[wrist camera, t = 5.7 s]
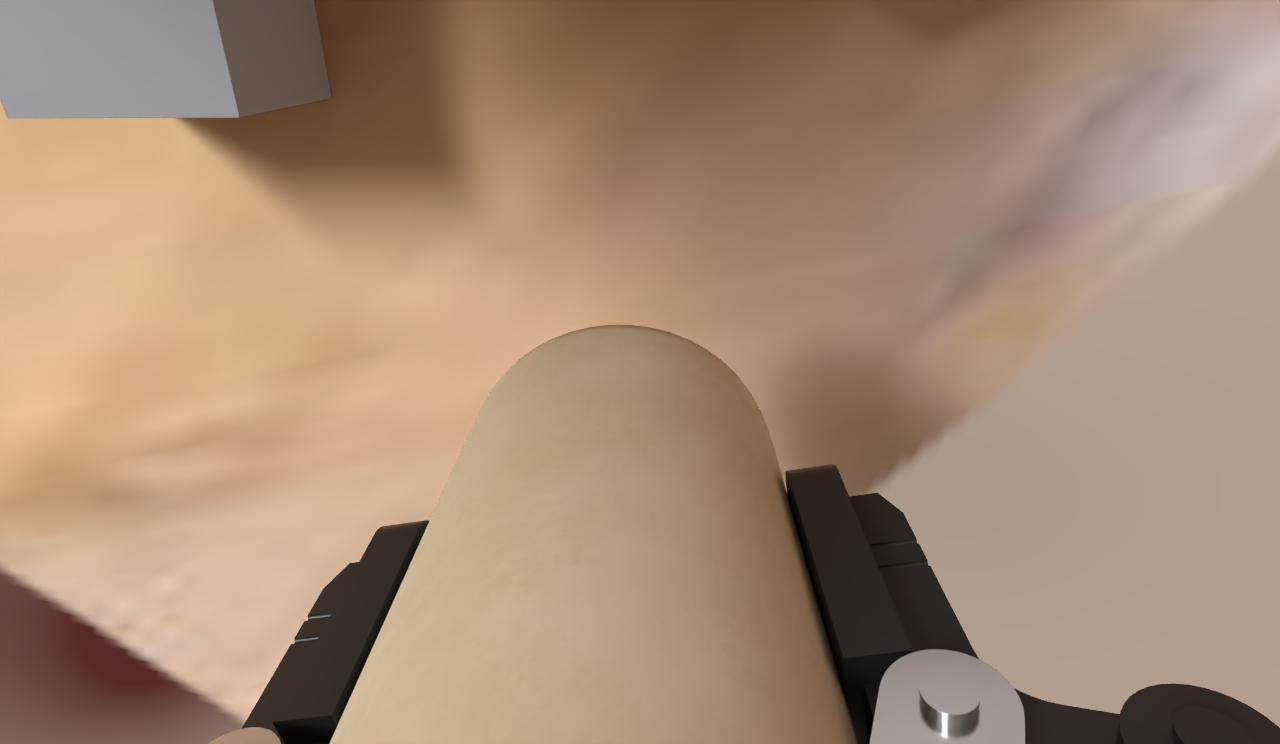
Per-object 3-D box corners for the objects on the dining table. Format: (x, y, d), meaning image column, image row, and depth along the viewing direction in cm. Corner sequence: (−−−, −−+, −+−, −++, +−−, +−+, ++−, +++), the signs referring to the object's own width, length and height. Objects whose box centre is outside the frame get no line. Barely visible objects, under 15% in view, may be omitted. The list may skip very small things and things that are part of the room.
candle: (516, 278, 12) (102, 1045, 3) (818, 374, 13) (1225, 1235, 4) (448, 528, 14) (98, 1388, 5) (706, 598, 15) (789, 1464, 6)
